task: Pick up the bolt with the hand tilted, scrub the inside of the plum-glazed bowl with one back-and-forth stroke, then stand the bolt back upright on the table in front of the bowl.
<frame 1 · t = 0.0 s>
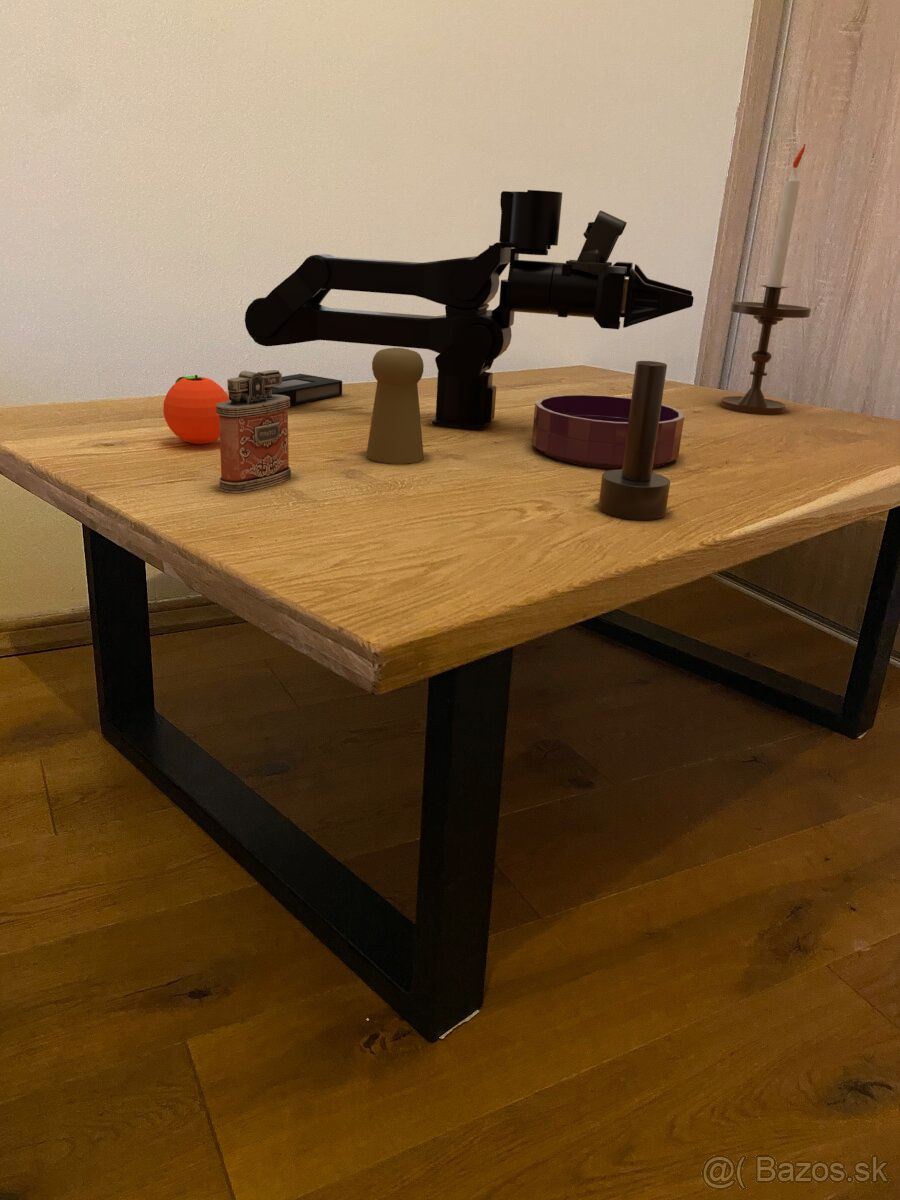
hand: (692, 298, 104), 17 cm above the table, tool horizontal, fingers open, 9 cm apart
cork: (394, 458, 97), on the table
lighter: (256, 484, 85), on the table
candlestick: (751, 409, 136), on the table
bolt: (631, 510, 83), on the table
bowl: (603, 452, 104), on the table
vhs tape: (287, 399, 124), on the table
clementine: (196, 444, 98), on the table
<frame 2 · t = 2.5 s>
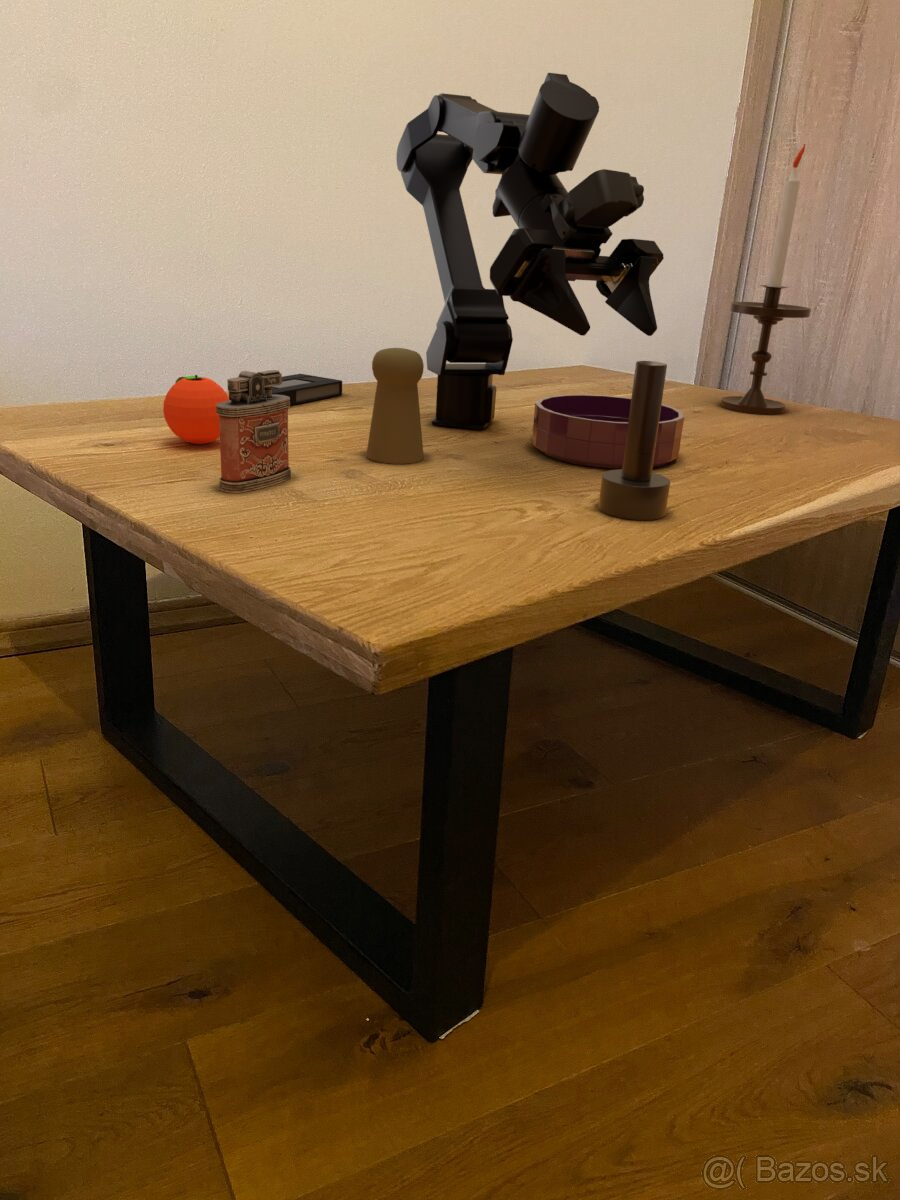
hand: (620, 332, 86), 14 cm above the table, tool tilted 50°, fingers open, 9 cm apart
nothing on the table moved.
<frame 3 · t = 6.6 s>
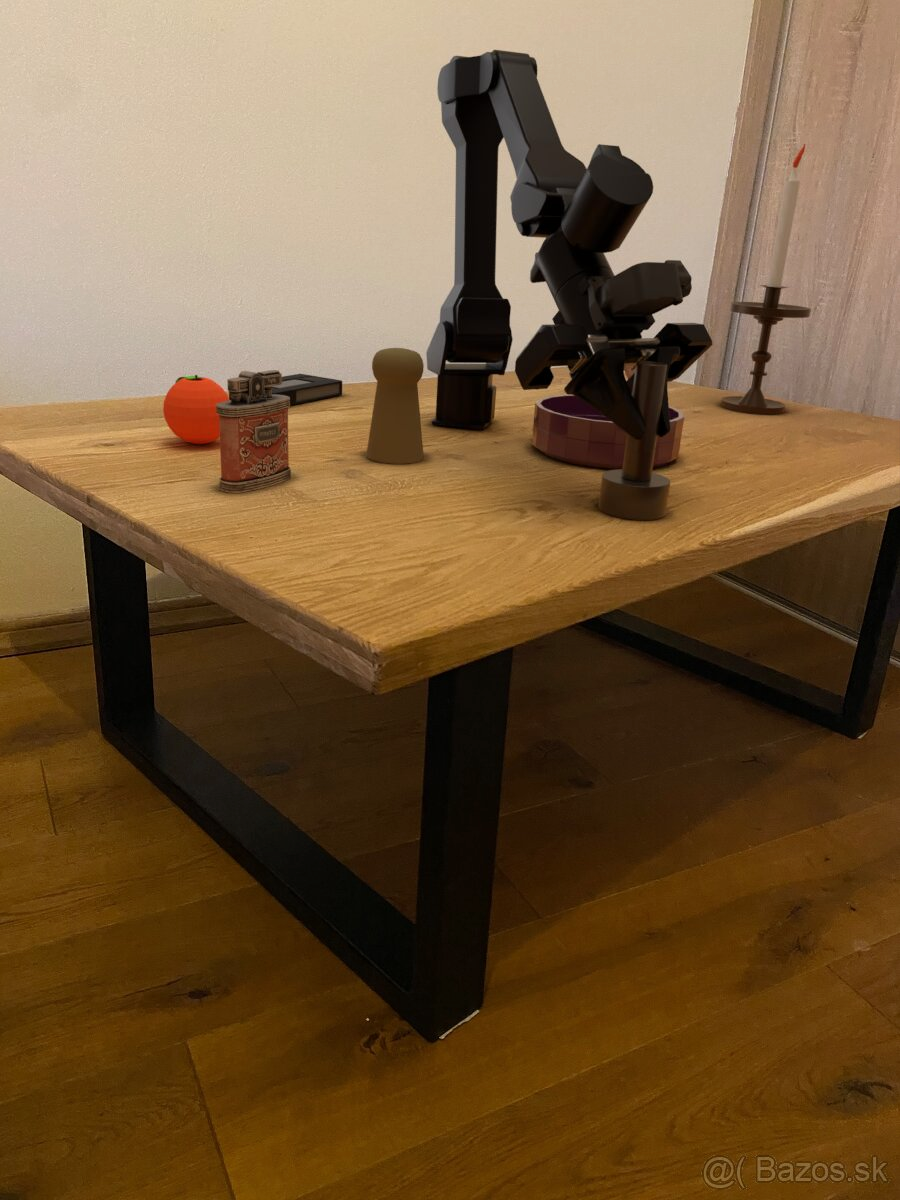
hand: (653, 435, 80), 7 cm above the table, tool tilted 45°, fingers closed on bolt, 2 cm apart
bolt: (631, 510, 83), on the table, touching gripper
everything else where it was.
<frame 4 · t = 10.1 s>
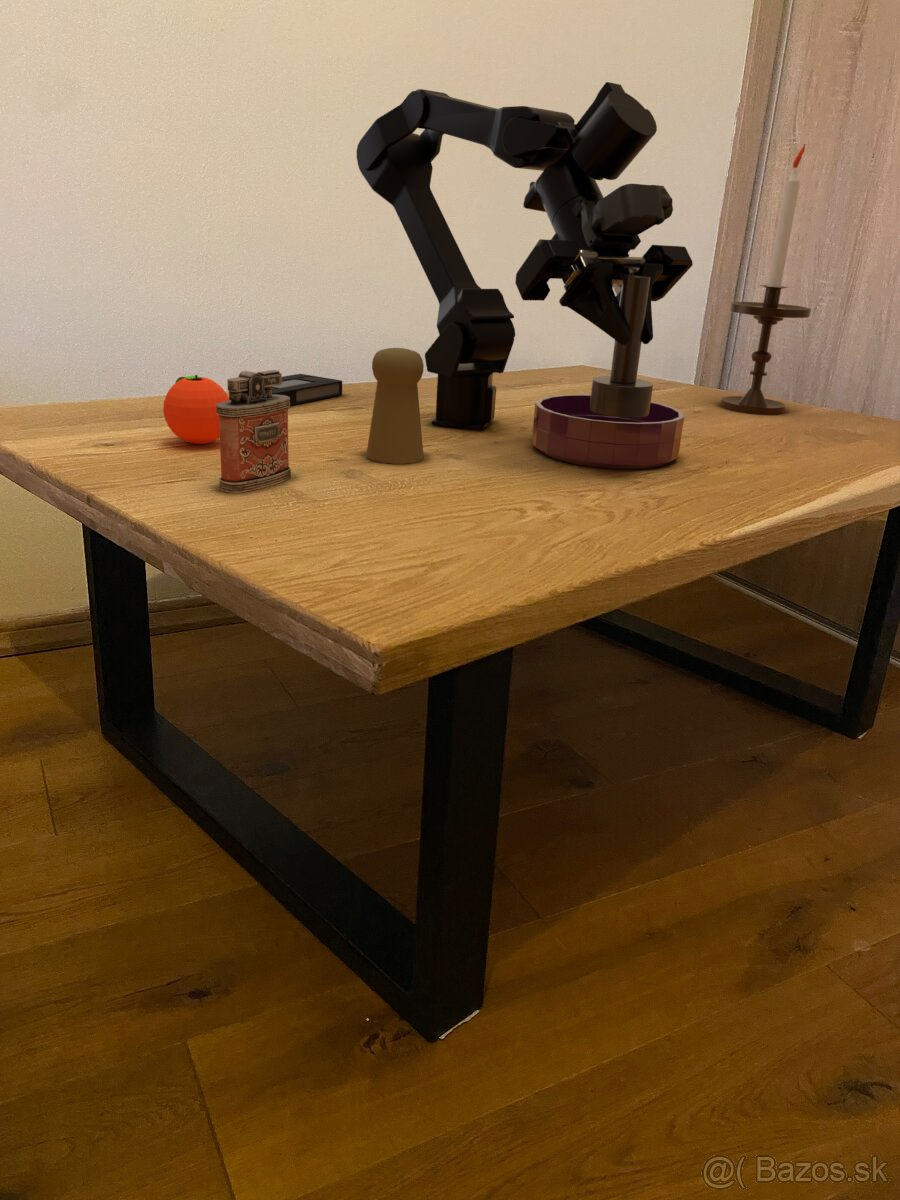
hand: (637, 341, 90), 13 cm above the table, tool tilted 45°, fingers closed on bolt, 2 cm apart
bolt: (618, 411, 94), point 6 cm above the table, touching gripper
everything else where it was.
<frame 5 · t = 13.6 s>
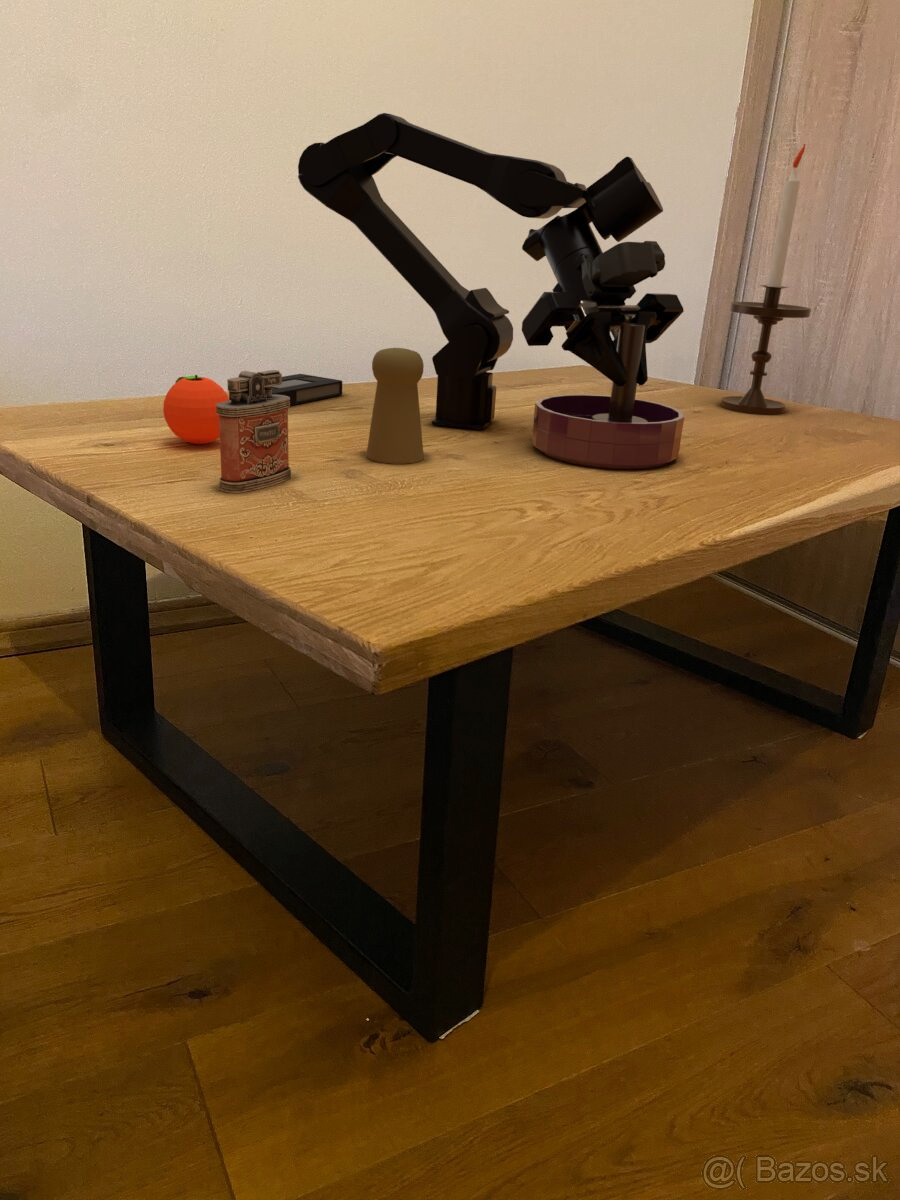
hand: (633, 383, 98), 8 cm above the table, tool tilted 45°, fingers closed on bolt, 2 cm apart
bolt: (616, 446, 102), point 1 cm above the table, touching gripper
everything else where it was.
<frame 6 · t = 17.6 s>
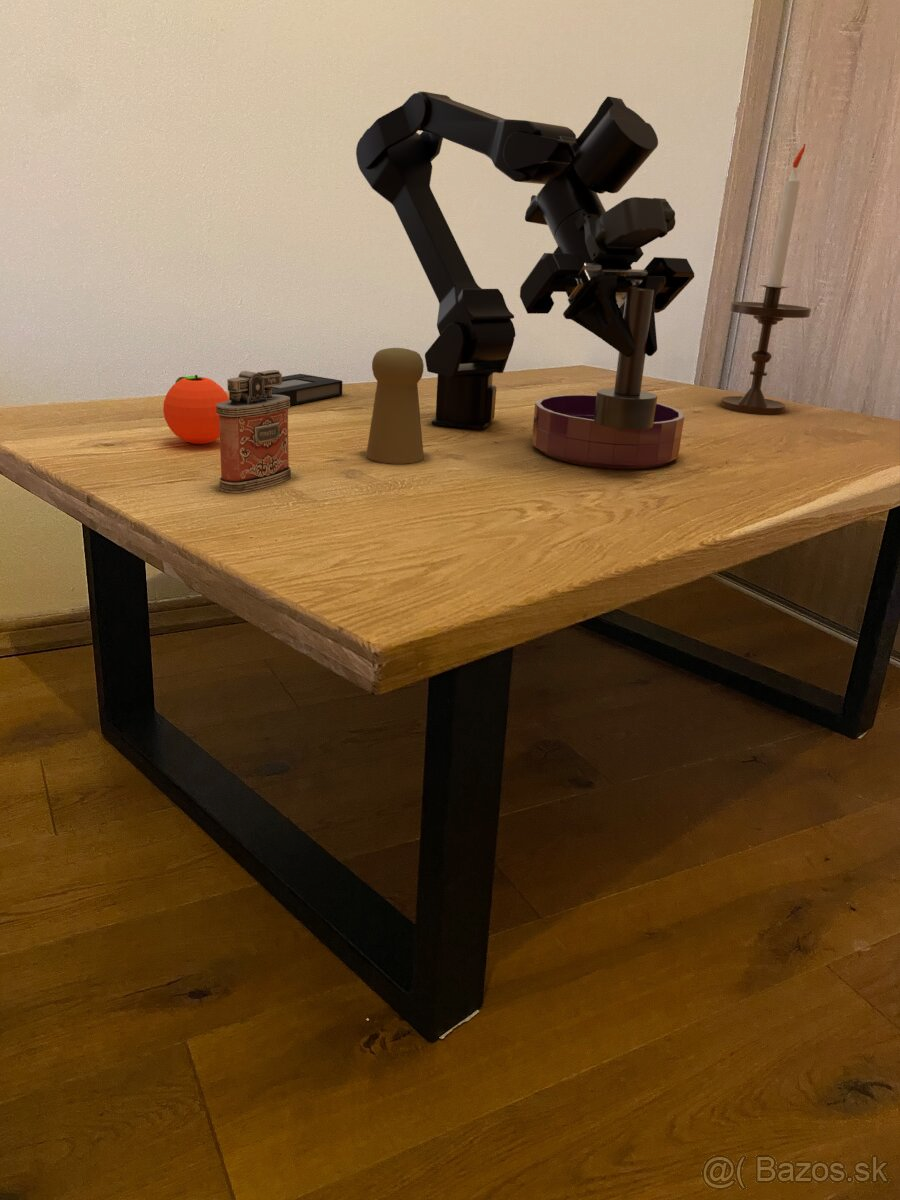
hand: (642, 353, 90), 12 cm above the table, tool tilted 45°, fingers closed on bolt, 2 cm apart
bolt: (623, 423, 94), point 5 cm above the table, touching gripper
everything else where it was.
when the fingers open (7 cm above the table, at t = 21.1 s): bolt stays where it is, on the table.
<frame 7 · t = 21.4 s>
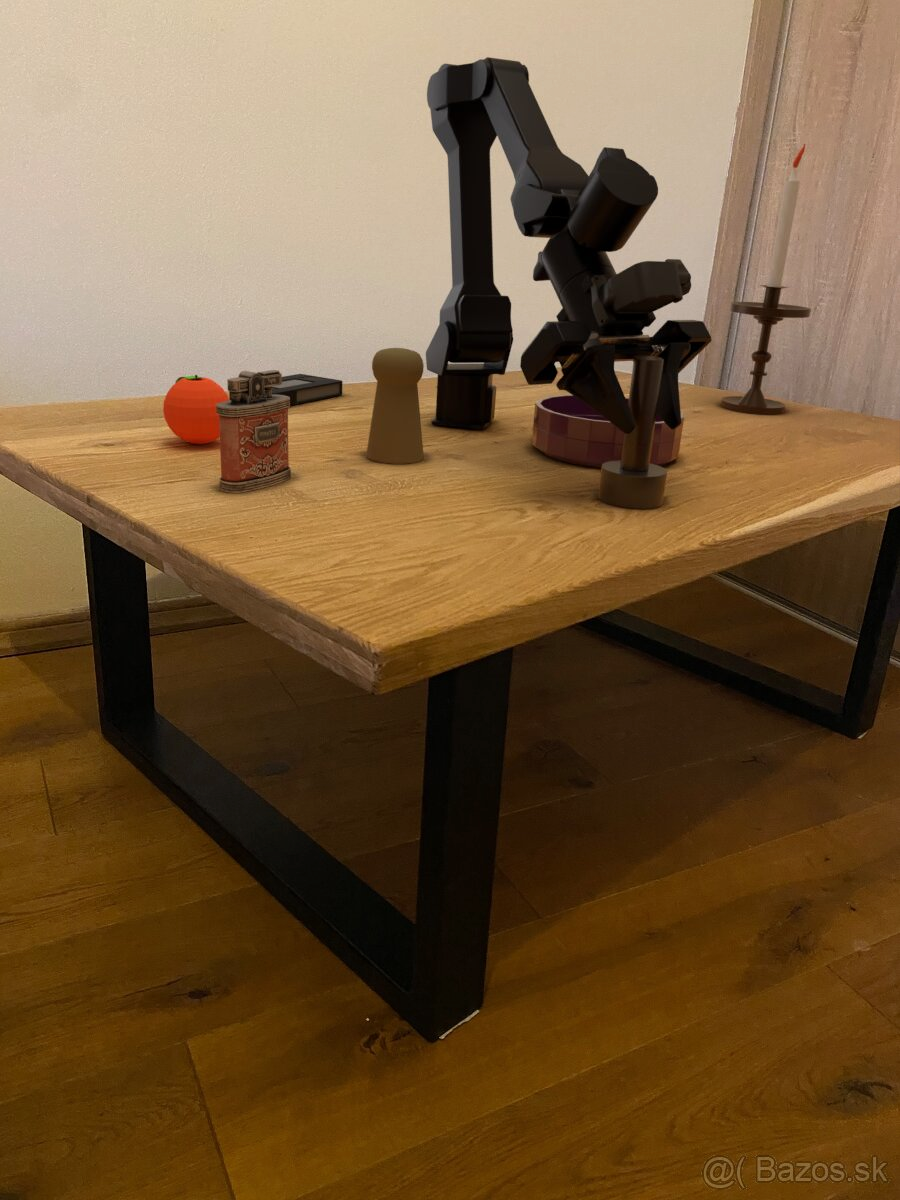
hand: (654, 429, 82), 7 cm above the table, tool tilted 45°, fingers open, 5 cm apart
bolt: (630, 499, 87), on the table
everything else where it was.
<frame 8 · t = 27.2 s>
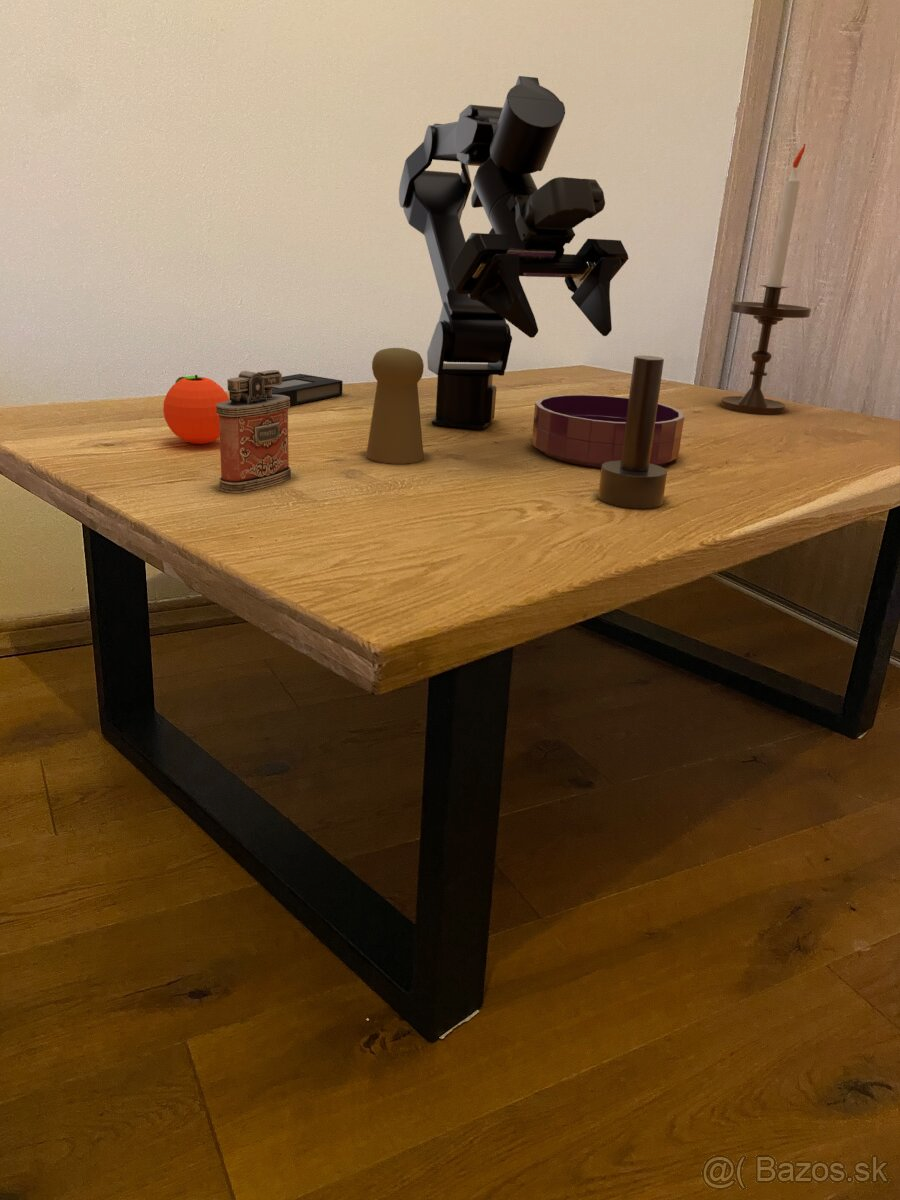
hand: (572, 334, 91), 14 cm above the table, tool tilted 45°, fingers open, 9 cm apart
nothing on the table moved.
at the end: bolt inside the target area on the table beside the bowl (0.6 cm from its centre), on the table; bolt tilted 0°; the gripper is holding nothing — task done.
